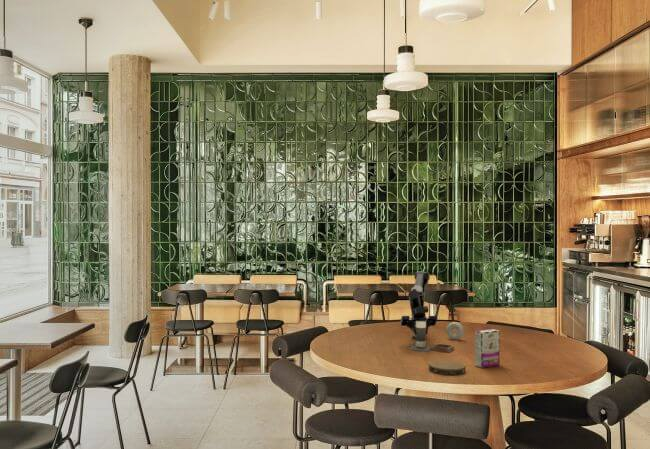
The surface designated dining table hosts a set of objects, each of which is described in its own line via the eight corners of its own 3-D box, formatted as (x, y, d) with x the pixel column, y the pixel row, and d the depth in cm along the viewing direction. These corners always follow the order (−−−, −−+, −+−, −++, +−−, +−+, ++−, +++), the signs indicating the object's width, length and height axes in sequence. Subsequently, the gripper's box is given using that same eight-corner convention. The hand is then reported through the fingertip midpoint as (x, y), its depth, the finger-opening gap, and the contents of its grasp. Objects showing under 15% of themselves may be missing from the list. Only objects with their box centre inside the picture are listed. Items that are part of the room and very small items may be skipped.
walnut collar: (437, 347, 304) (437, 343, 304) (454, 349, 299) (454, 345, 299) (431, 350, 296) (431, 346, 296) (448, 352, 292) (448, 348, 292)
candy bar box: (492, 363, 270) (492, 328, 270) (499, 365, 266) (500, 330, 266) (474, 365, 265) (474, 330, 265) (481, 368, 261) (482, 332, 261)
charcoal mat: (414, 345, 307) (414, 344, 307) (432, 348, 302) (432, 347, 302) (407, 349, 298) (407, 348, 298) (426, 351, 293) (426, 350, 293)
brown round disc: (423, 372, 253) (423, 365, 253) (437, 365, 267) (437, 358, 267) (457, 378, 245) (457, 371, 245) (470, 370, 258) (470, 363, 258)
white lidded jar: (417, 344, 304) (417, 320, 304) (427, 345, 301) (427, 321, 301) (413, 346, 299) (413, 321, 299) (423, 347, 296) (424, 322, 296)
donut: (445, 339, 326) (445, 321, 326) (446, 338, 329) (447, 320, 329) (463, 340, 321) (463, 323, 321) (464, 339, 325) (464, 322, 325)
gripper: (401, 300, 303) (406, 325, 292) (436, 300, 304) (442, 325, 293) (398, 313, 311) (402, 337, 300) (432, 313, 312) (437, 337, 301)
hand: (421, 334), depth 298 cm, fingers closed on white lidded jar, 5 cm apart
